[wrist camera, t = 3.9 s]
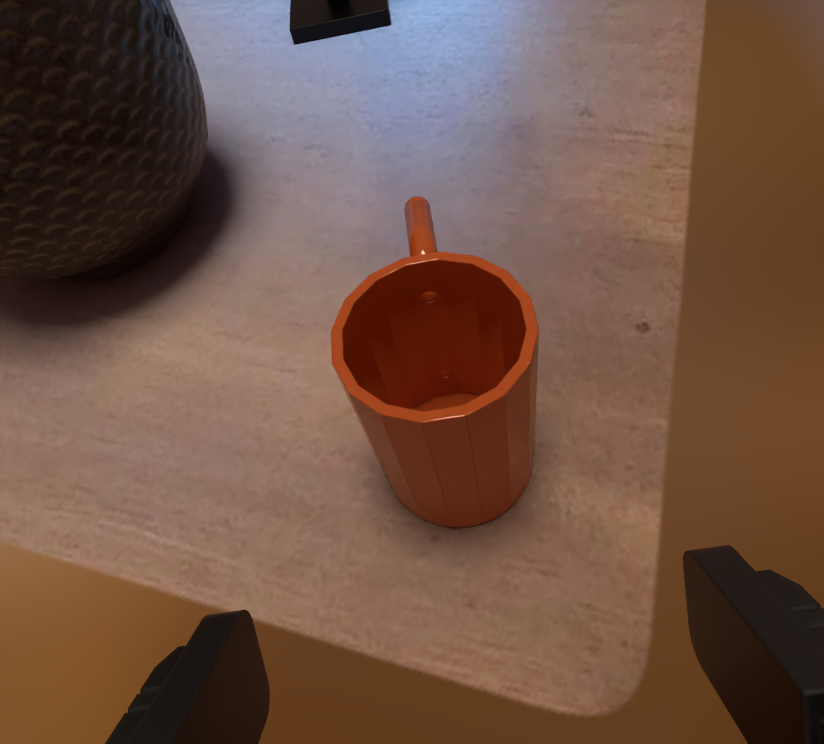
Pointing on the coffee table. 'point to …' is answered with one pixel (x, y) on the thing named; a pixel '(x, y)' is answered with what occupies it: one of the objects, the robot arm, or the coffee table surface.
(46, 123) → the planter
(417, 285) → the mug
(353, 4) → the hook stand
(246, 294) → the coffee table surface
